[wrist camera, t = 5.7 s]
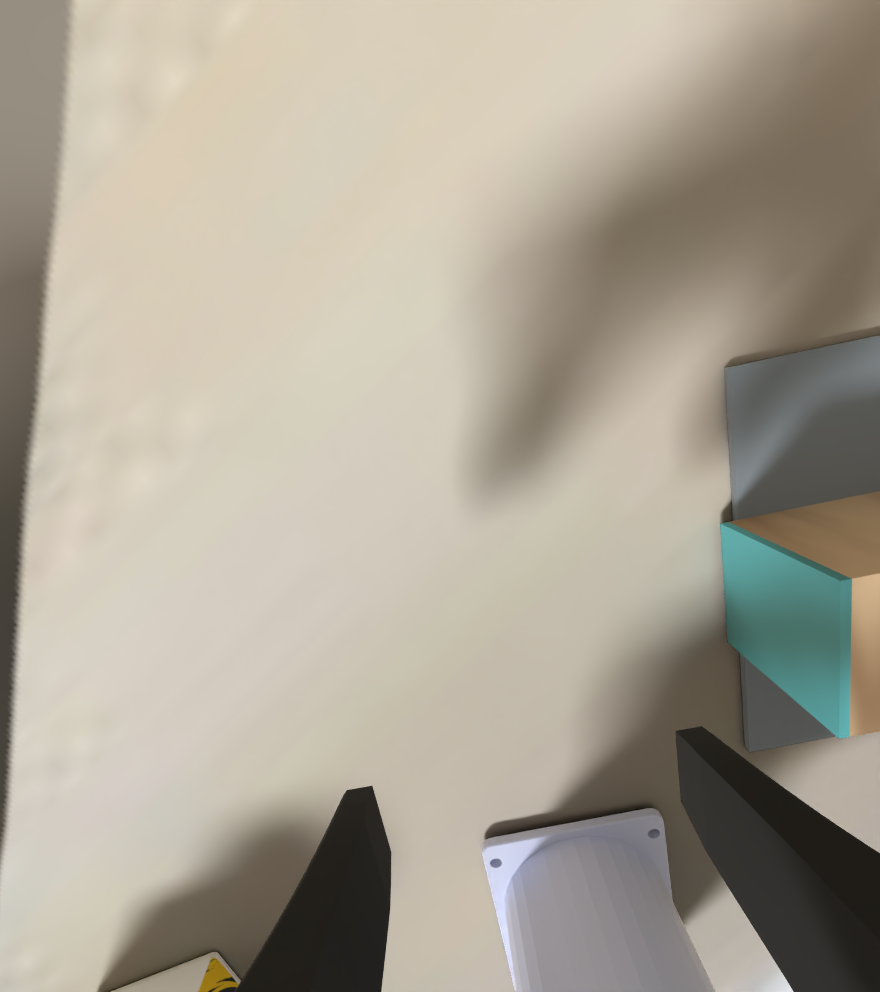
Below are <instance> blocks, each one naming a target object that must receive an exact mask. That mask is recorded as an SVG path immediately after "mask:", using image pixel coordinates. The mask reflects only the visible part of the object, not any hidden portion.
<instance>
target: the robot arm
mask: <svg viewBox="0 0 880 992" xmlns="http://www.w3.org/2000/svg"><path fill="white" fill-rule="evenodd" d="M676 744H677V756H678V769H679V781H680V794H681V802H682V804H683V806H684V808H685V810H686V812H687V814H688V816H689V818H690V820H691V822H692V824H693V826H694V828H695V830H696V832H697V834H698V836H699V838H700V840H701V842H702V844H703V846H704V848H705V850H706V852H707V853H708V855H709V857H710V858H711V860H712V861H713V863H714V865H715V866H716V868H717V870H718V871H719V873H720V874H721V876H722V878H723V879H724V881H725V882H726V884H727V886H728V887H729V889H730V890H731V892H732V894H733V895H734V897H735V898H736V900H737V902H738V903H739V905H740V906H741V908H742V910H743V911H744V913H745V914H746V916H747V918H748V919H749V921H750V922H751V924H752V926H753V927H754V929H755V930H756V932H757V933H758V935H759V937H760V938H761V940H762V941H763V943H764V945H765V946H766V948H767V949H768V951H769V953H770V954H771V956H772V957H773V959H774V960H775V962H776V964H777V965H778V967H779V968H780V970H781V972H782V973H783V975H784V976H785V978H786V980H787V981H788V983H789V985H790V986H791V988H792V990H793V991H794V992H880V853H879V852H877V851H875V850H874V849H872V848H871V847H869V846H868V845H866V844H865V843H863V842H862V841H860V840H859V839H857V838H856V837H854V836H852V835H851V834H849V833H848V832H846V831H845V830H843V829H842V828H840V827H839V826H837V825H836V824H834V823H833V822H832V821H830V820H829V819H827V818H826V817H824V816H823V815H821V814H820V813H818V812H817V811H816V810H814V809H813V808H811V807H810V806H808V805H807V804H806V803H804V802H803V801H801V800H800V799H799V798H797V797H796V796H794V795H793V794H792V793H790V792H789V791H787V790H786V789H785V788H783V787H782V786H780V785H779V784H778V783H776V782H775V781H774V780H772V779H771V778H770V777H768V776H767V775H766V774H764V773H763V772H762V771H760V770H759V769H758V768H756V767H755V766H754V765H752V764H751V763H750V762H748V761H747V760H746V759H744V758H743V757H742V756H740V755H739V754H738V753H736V752H735V751H734V750H732V749H731V748H730V747H728V746H727V745H726V744H725V743H723V742H722V741H721V740H719V739H718V738H717V737H715V736H714V735H713V734H711V733H710V732H709V731H707V730H706V729H705V728H703V727H702V726H701V727H695V728H690V729H684V730H679V731H676ZM482 855H483V859H484V864H485V868H486V872H487V876H488V880H489V884H490V889H491V893H492V897H493V901H494V905H495V909H496V914H497V918H498V922H499V926H500V930H501V934H502V938H503V943H504V947H505V951H506V955H507V959H508V963H509V968H510V972H511V976H512V980H513V984H514V988H515V991H516V992H715V990H714V988H713V986H712V984H711V981H710V979H709V977H708V975H707V973H706V971H705V969H704V967H703V964H702V962H701V960H700V958H699V956H698V954H697V952H696V950H695V948H694V945H693V943H692V941H691V939H690V937H689V935H688V933H687V931H686V928H685V926H684V924H683V922H682V920H681V918H680V916H679V914H678V911H677V909H676V907H675V905H674V903H673V899H672V890H671V881H670V872H669V863H668V854H667V845H666V836H665V827H664V821H663V818H662V816H661V814H660V813H659V811H658V810H656V809H653V808H646V809H641V810H636V811H630V812H625V813H620V814H614V815H609V816H604V817H598V818H593V819H588V820H582V821H577V822H572V823H566V824H561V825H556V826H550V827H545V828H540V829H534V830H529V831H524V832H518V833H513V834H508V835H502V836H497V837H492V838H489V839H487V840H485V841H484V842H483V844H482ZM390 894H391V850H390V846H389V843H388V839H387V836H386V832H385V829H384V825H383V822H382V818H381V815H380V811H379V808H378V804H377V801H376V797H375V794H374V790H373V787H372V786H368V787H363V788H357V789H352V790H347V791H346V793H345V794H344V795H343V797H342V799H341V802H340V804H339V806H338V808H337V810H336V812H335V814H334V816H333V818H332V820H331V823H330V825H329V827H328V829H327V831H326V833H325V835H324V837H323V839H322V841H321V843H320V845H319V847H318V849H317V851H316V853H315V855H314V856H313V858H312V860H311V862H310V864H309V866H308V868H307V870H306V872H305V873H304V875H303V877H302V879H301V881H300V883H299V885H298V887H297V888H296V890H295V892H294V894H293V896H292V898H291V899H290V901H289V903H288V905H287V906H286V908H285V910H284V911H283V913H282V915H281V917H280V918H279V920H278V922H277V923H276V925H275V927H274V929H273V930H272V932H271V934H270V935H269V937H268V939H267V941H266V942H265V944H264V946H263V947H262V949H261V951H260V952H259V954H258V955H257V957H256V959H255V960H254V962H253V963H252V965H251V967H250V968H249V970H248V971H247V973H246V974H245V976H244V978H243V979H242V981H241V982H240V984H239V985H238V987H237V988H236V990H235V991H234V992H381V988H382V979H383V970H384V961H385V952H386V942H387V933H388V924H389V914H390Z"/></svg>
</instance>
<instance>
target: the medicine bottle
mask: <svg viewBox="0 0 880 992" xmlns="http://www.w3.org/2000/svg"><path fill="white" fill-rule="evenodd" d="M240 982H241V980H240V979H239V978H238V976H237V975H236V974H235V973H234V972H233V970H232V969H231V968H230V967H229V966H228V964H227V963H226V962H225V961H224V959H223V958H222V957H221V956H220V955H219V953H217V952H211V953H209V954H206V955H204V956H201V957H198V958H196V959H193V960H191V961H188V962H186V963H183V964H180V965H178V966H175V967H173V968H170V969H167V970H165V971H162V972H160V973H157V974H155V975H152V976H149V977H147V978H144V979H142V980H139V981H136V982H134V983H131V984H129V985H126V986H124V987H121V988H118V989H116V990H113V991H111V992H234V991H235V990H236V988H237V987H238V985H239V984H240Z"/></svg>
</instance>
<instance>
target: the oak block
mask: <svg viewBox="0 0 880 992" xmlns="http://www.w3.org/2000/svg"><path fill="white" fill-rule="evenodd" d="M720 528H721V544H722V561H723V577H724V594H725V610H726V627H727V642H728V643H729V644H730V645H731V646H732V647H734V648H735V649H736V650H737V651H738V652H739V653H740V654H742V655H743V656H744V657H745V658H746V659H747V660H749V661H750V662H751V663H752V664H753V665H754V666H756V667H757V668H758V669H759V670H760V671H761V672H762V673H764V674H765V675H766V676H767V677H768V678H769V679H771V680H772V681H773V682H774V683H775V684H776V685H777V686H779V687H780V688H781V689H782V690H783V691H784V692H786V693H787V694H788V695H789V696H790V697H791V698H793V699H794V700H795V701H796V702H797V703H798V704H799V705H801V706H802V707H803V708H804V709H805V710H806V711H808V712H809V713H810V714H811V715H812V716H813V717H815V718H816V719H817V720H818V721H819V722H820V723H821V724H823V725H824V726H825V727H826V728H827V729H828V730H830V731H831V732H832V733H833V734H834V735H835V736H836V737H838V738H839V739H841V738H846V737H852V736H857V735H862V734H867V733H873V732H878V731H880V491H878V492H873V493H868V494H863V495H858V496H853V497H848V498H843V499H838V500H833V501H829V502H824V503H819V504H814V505H809V506H804V507H799V508H794V509H789V510H784V511H780V512H775V513H770V514H765V515H760V516H755V517H750V518H745V519H740V520H735V521H730V522H726V523H721V524H720Z"/></svg>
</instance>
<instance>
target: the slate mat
mask: <svg viewBox="0 0 880 992" xmlns="http://www.w3.org/2000/svg"><path fill="white" fill-rule="evenodd" d="M725 384H726V402H727V421H728V440H729V459H730V478H731V496H732V515H733V521H735V520H740V519H745V518H750V517H755V516H760V515H765V514H770V513H775V512H780V511H784V510H789V509H794V508H799V507H804V506H809V505H814V504H819V503H824V502H829V501H833V500H838V499H843V498H848V497H853V496H858V495H863V494H868V493H873V492H878V491H880V335H876V336H871V337H867V338H862V339H857V340H853V341H848V342H843V343H839V344H834V345H829V346H824V347H820V348H815V349H810V350H806V351H801V352H796V353H792V354H787V355H782V356H778V357H773V358H768V359H763V360H759V361H754V362H749V363H745V364H740V365H735V366H731V367H726V368H725ZM740 665H741V684H742V703H743V721H744V740H745V748H746V749H747V750H748V751H749V752H755V751H761V750H766V749H771V748H777V747H782V746H787V745H792V744H798V743H803V742H808V741H813V740H819V739H824V738H829V737H834V736H835V735H834V734H833V733H832V732H831V731H830V730H828V729H827V728H826V727H825V726H824V725H823V724H821V723H820V722H819V721H818V720H817V719H816V718H815V717H813V716H812V715H811V714H810V713H809V712H808V711H806V710H805V709H804V708H803V707H802V706H801V705H799V704H798V703H797V702H796V701H795V700H794V699H793V698H791V697H790V696H789V695H788V694H787V693H786V692H784V691H783V690H782V689H781V688H780V687H779V686H777V685H776V684H775V683H774V682H773V681H772V680H771V679H769V678H768V677H767V676H766V675H765V674H764V673H762V672H761V671H760V670H759V669H758V668H757V667H756V666H754V665H753V664H752V663H751V662H750V661H749V660H747V659H746V658H745V657H744V656H743V655H742V654H740Z"/></svg>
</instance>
